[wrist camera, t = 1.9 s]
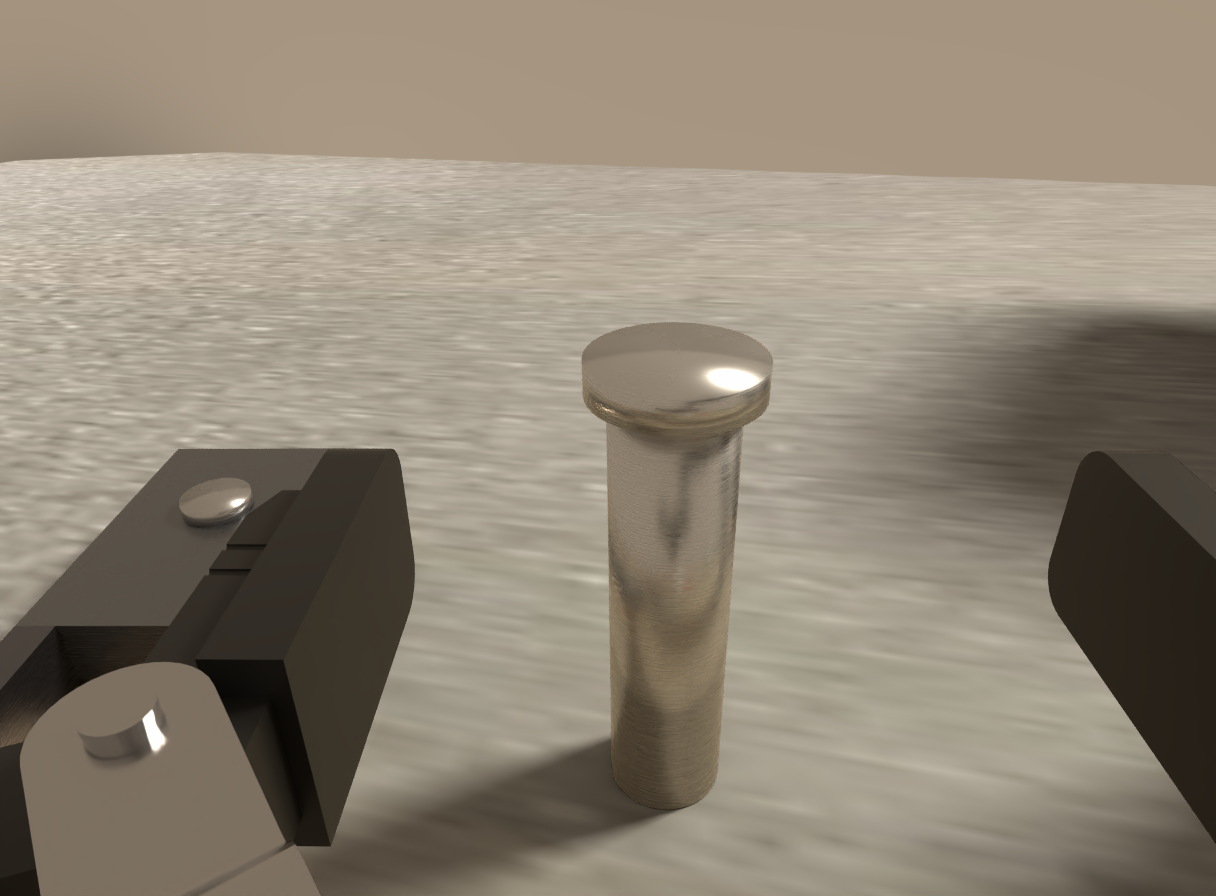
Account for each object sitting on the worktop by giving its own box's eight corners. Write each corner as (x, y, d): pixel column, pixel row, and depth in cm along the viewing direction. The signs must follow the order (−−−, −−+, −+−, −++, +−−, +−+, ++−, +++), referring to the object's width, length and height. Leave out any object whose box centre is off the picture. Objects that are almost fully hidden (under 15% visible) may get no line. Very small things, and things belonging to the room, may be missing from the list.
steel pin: (652, 690, 32) (659, 310, 24) (762, 757, 29) (808, 351, 22) (564, 770, 29) (542, 362, 21) (679, 854, 26) (699, 418, 18)
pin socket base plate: (159, 519, 42) (133, 438, 40) (399, 518, 42) (386, 437, 40) (-594, 1417, 16) (-796, 1330, 14) (33, 1428, 16) (-67, 1341, 14)
